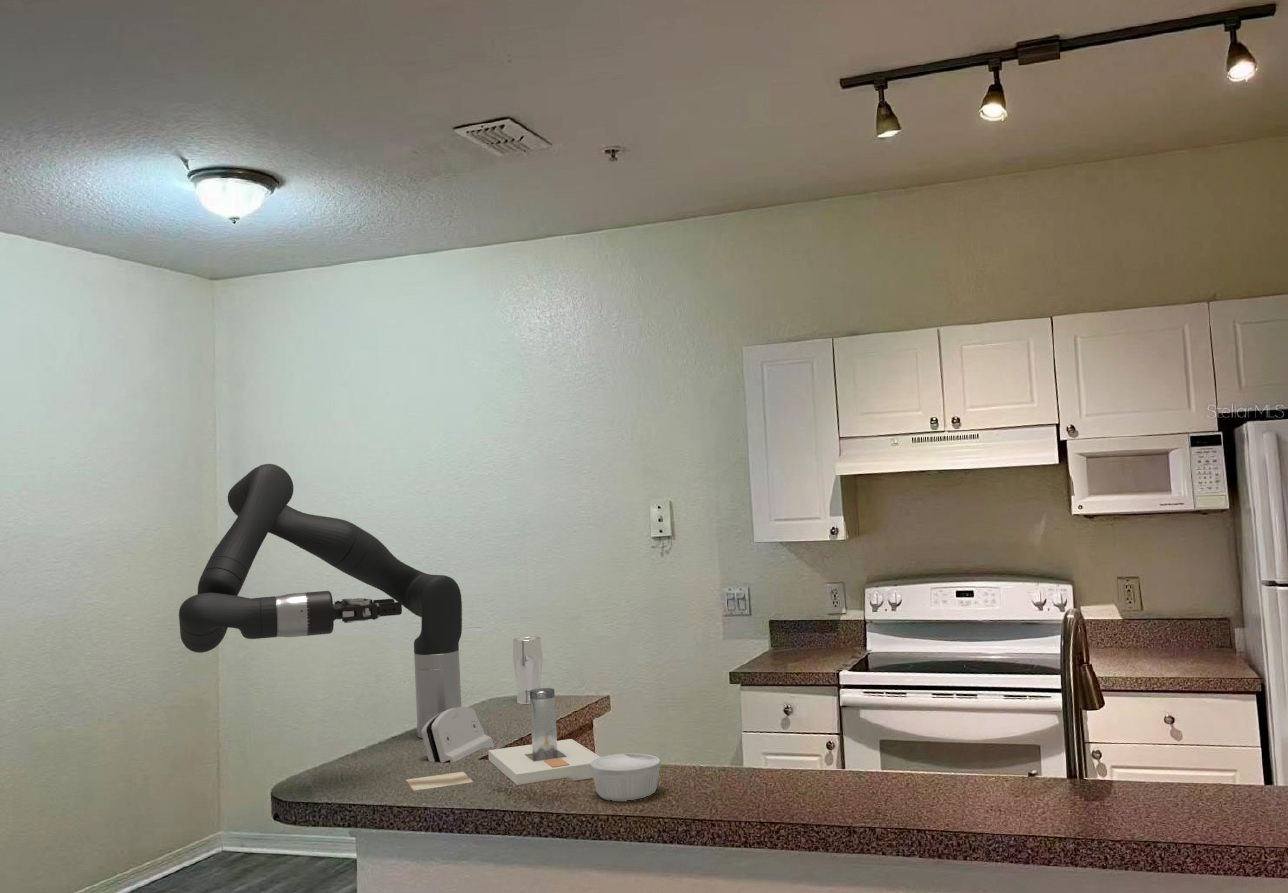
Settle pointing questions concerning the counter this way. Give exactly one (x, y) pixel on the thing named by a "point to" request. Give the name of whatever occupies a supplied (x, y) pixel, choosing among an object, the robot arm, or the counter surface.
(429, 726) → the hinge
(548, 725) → the grey capped tube
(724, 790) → the counter surface
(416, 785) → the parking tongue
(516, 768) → the hole plate
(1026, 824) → the counter surface
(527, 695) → the beer glass
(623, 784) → the ramekin
